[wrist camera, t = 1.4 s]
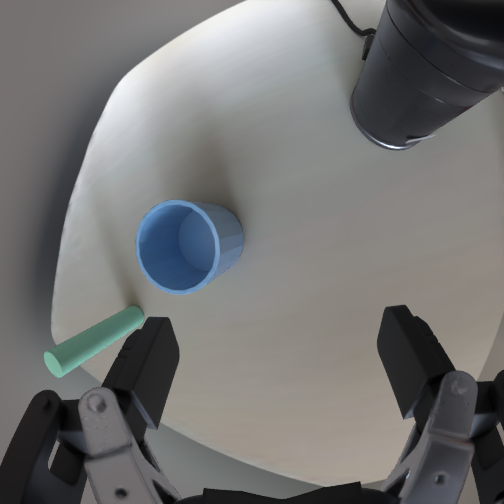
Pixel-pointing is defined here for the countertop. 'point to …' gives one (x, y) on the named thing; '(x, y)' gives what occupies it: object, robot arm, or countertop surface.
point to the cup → (187, 244)
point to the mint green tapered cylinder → (91, 341)
